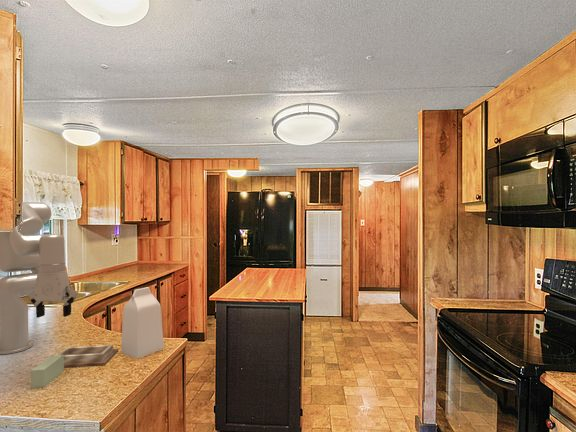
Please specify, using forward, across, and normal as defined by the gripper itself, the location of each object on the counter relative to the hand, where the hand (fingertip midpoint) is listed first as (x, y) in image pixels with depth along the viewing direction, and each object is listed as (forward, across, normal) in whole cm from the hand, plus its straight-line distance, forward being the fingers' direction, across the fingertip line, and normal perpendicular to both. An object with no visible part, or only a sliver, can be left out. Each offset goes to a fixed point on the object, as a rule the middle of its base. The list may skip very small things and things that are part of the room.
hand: (53, 316), depth 120 cm
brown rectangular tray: (+20, +4, +11) cm, 24 cm away
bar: (+21, 0, -4) cm, 21 cm away
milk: (+21, +23, +20) cm, 37 cm away
